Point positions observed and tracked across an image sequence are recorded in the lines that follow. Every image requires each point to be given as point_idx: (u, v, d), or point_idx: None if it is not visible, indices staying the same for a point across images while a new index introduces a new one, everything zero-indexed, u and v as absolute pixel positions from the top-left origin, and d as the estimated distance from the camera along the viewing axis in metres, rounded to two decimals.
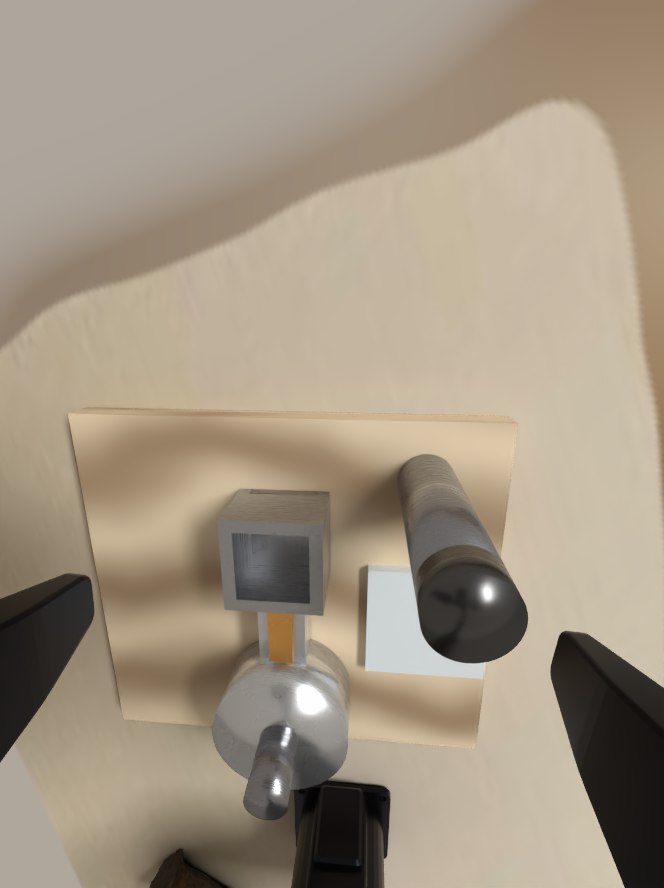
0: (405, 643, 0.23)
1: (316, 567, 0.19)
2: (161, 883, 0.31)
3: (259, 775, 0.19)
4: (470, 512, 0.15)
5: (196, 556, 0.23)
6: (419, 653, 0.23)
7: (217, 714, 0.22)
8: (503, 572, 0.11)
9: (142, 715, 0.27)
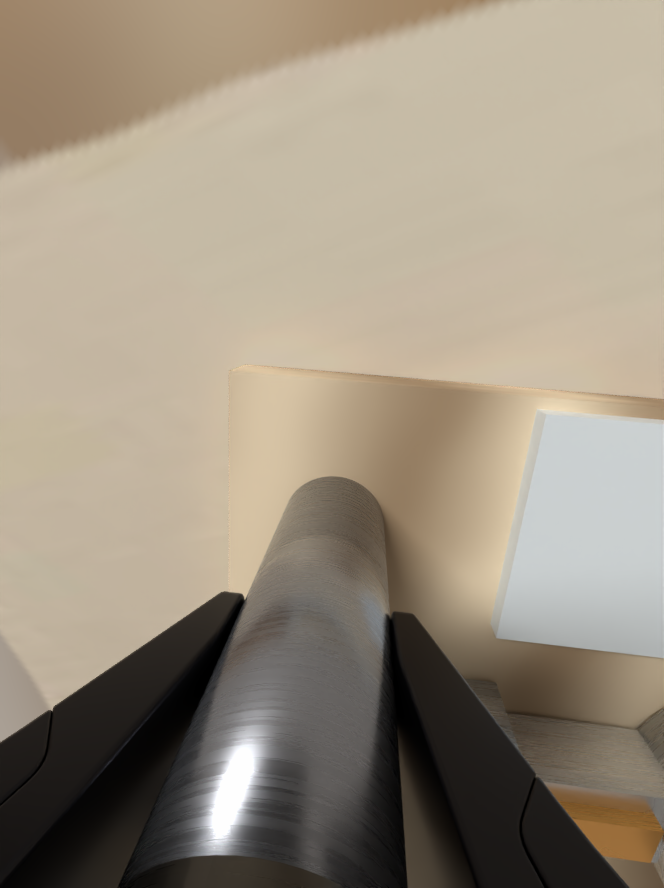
0: None
1: None
2: None
3: None
4: (222, 656, 0.06)
5: None
6: None
7: None
8: None
9: None
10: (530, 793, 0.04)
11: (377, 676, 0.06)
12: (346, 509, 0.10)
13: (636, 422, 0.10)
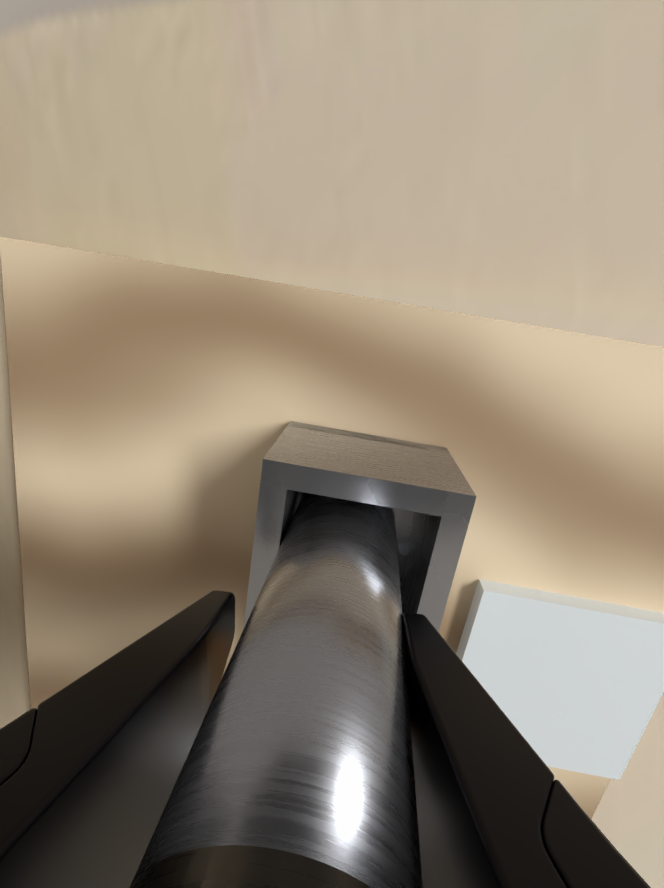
0: (512, 712, 0.14)
1: (440, 578, 0.10)
2: None
3: None
4: (237, 650, 0.06)
5: (193, 527, 0.14)
6: (530, 730, 0.14)
7: None
8: None
9: None
10: (550, 796, 0.04)
11: (392, 676, 0.06)
12: (359, 509, 0.10)
13: None
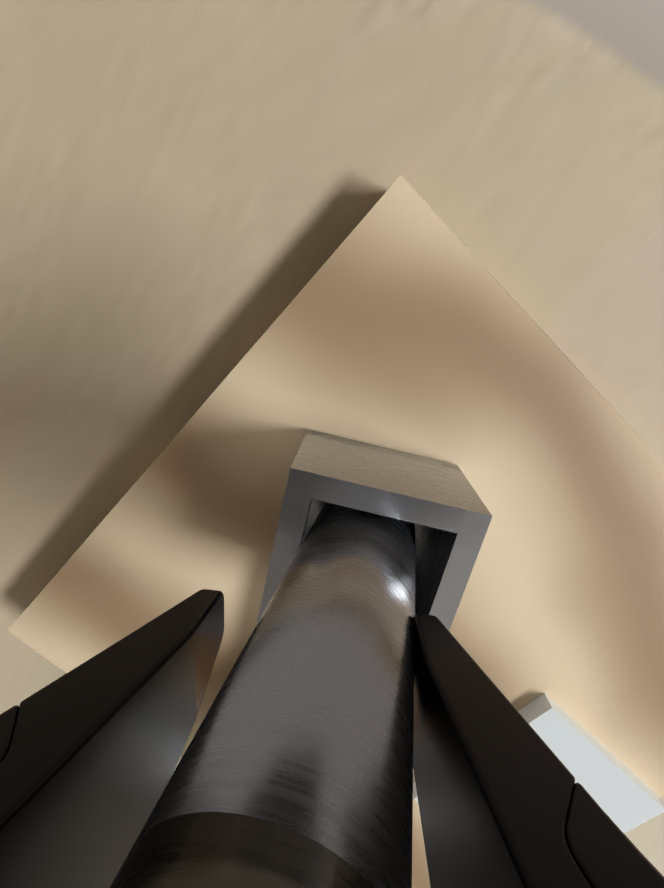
0: None
1: (450, 592, 0.10)
2: None
3: None
4: (245, 646, 0.06)
5: None
6: None
7: None
8: None
9: (43, 645, 0.16)
10: (571, 799, 0.04)
11: (392, 671, 0.06)
12: (374, 515, 0.10)
13: None
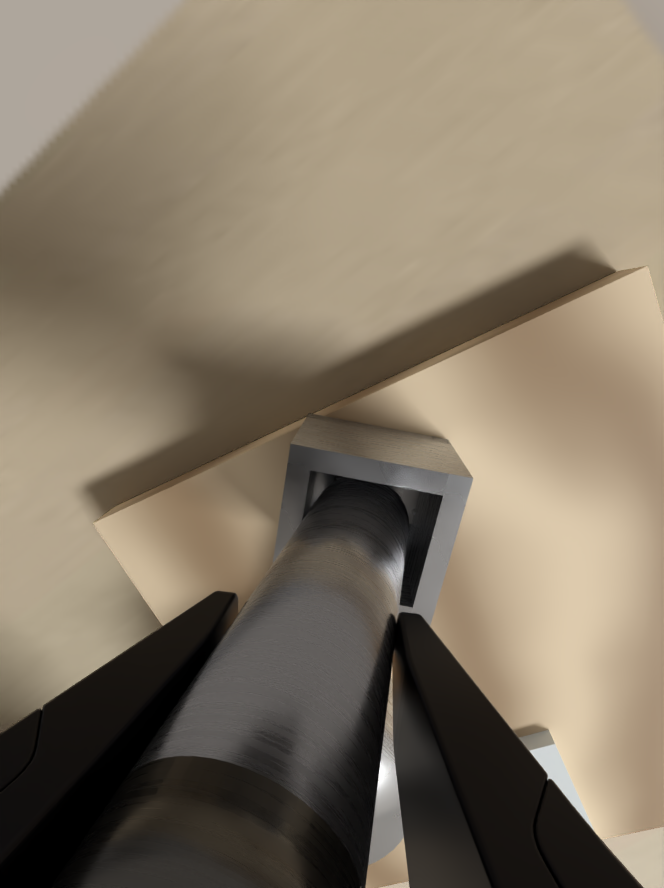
0: None
1: (440, 550, 0.11)
2: None
3: None
4: (234, 619, 0.07)
5: (461, 537, 0.15)
6: None
7: None
8: (58, 878, 0.04)
9: (121, 547, 0.16)
10: (542, 795, 0.04)
11: (368, 647, 0.06)
12: (366, 504, 0.10)
13: None
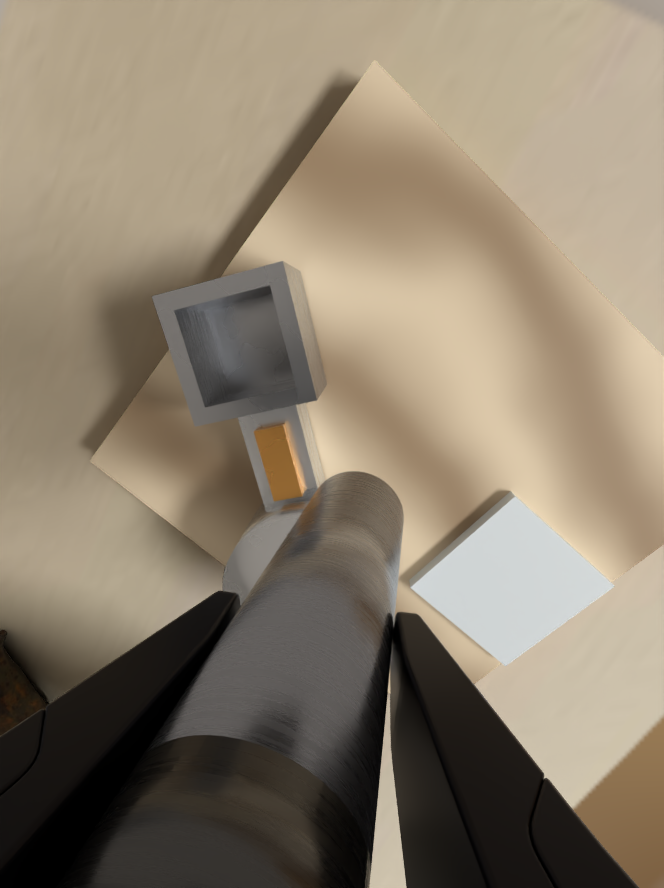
0: (474, 589, 0.20)
1: (290, 329, 0.14)
2: None
3: None
4: None
5: (352, 349, 0.18)
6: (476, 606, 0.20)
7: (225, 579, 0.17)
8: (81, 851, 0.04)
9: (117, 472, 0.20)
10: (538, 794, 0.04)
11: (369, 634, 0.06)
12: (363, 498, 0.10)
13: (577, 613, 0.20)
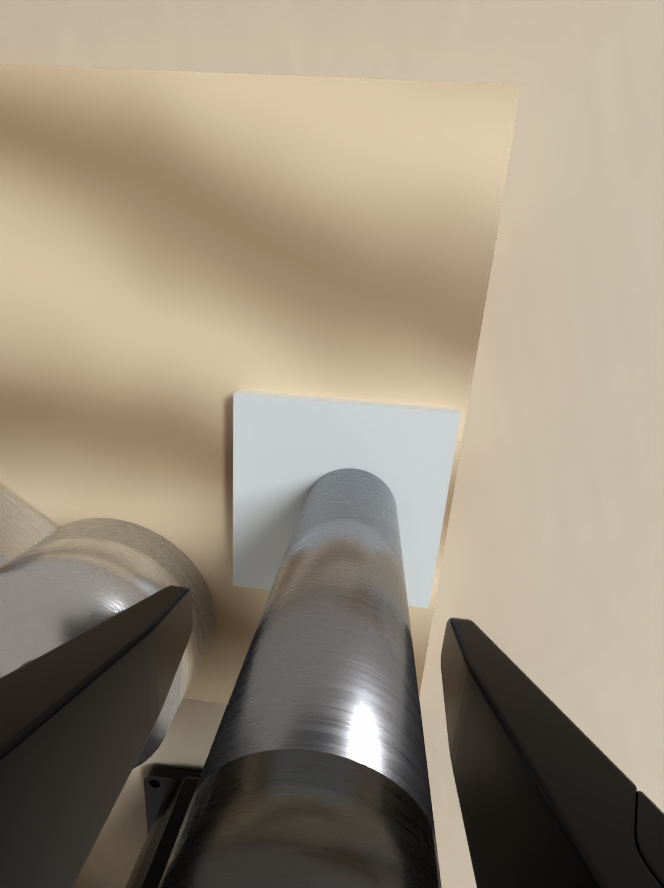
0: None
1: None
2: None
3: None
4: (263, 618, 0.07)
5: None
6: None
7: None
8: (171, 879, 0.04)
9: None
10: (637, 808, 0.04)
11: (398, 632, 0.07)
12: (364, 496, 0.11)
13: (449, 481, 0.12)
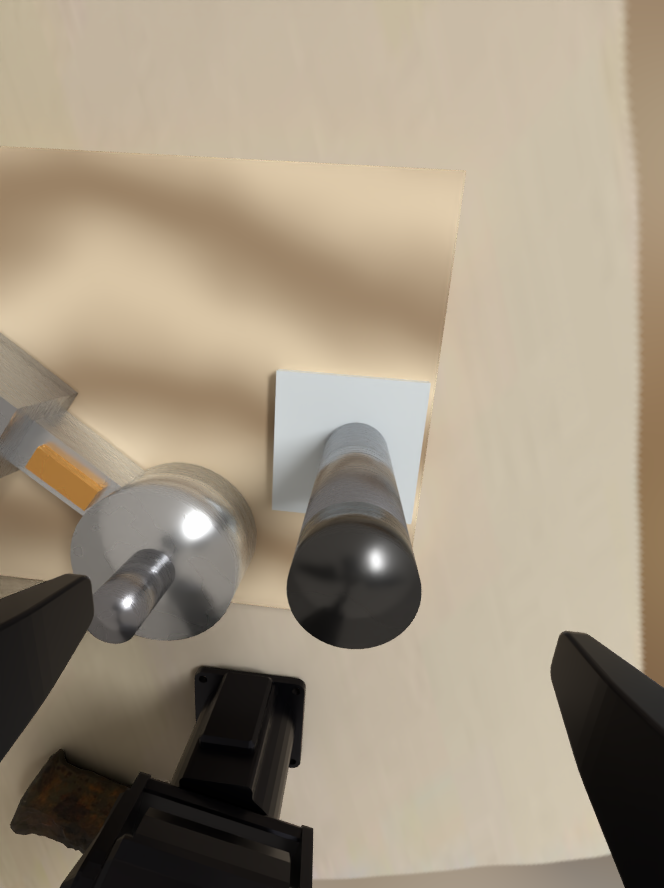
0: None
1: None
2: None
3: None
4: (315, 485, 0.13)
5: (72, 352, 0.19)
6: None
7: None
8: (303, 539, 0.09)
9: (12, 569, 0.23)
10: None
11: (391, 485, 0.12)
12: (366, 434, 0.16)
13: (423, 431, 0.18)
